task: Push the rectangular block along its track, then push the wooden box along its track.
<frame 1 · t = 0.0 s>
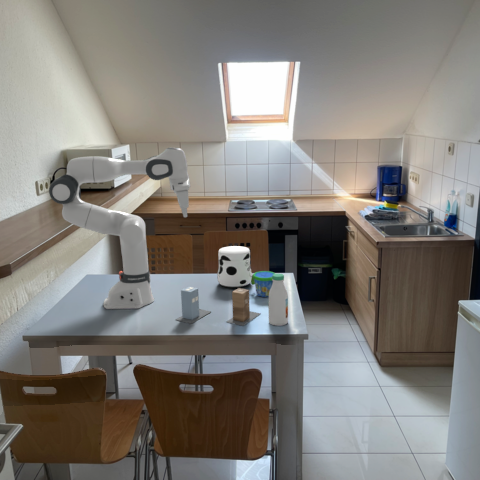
hand: (184, 215, 212), 39 cm above the table, tool pointing down, fingers open, 8 cm apart
track 1: (243, 318, 195), on the table
milk bottle: (278, 322, 190), on the table
milk container: (235, 285, 237), on the table
track 2: (193, 316, 198), on the table
wooden box 1: (241, 304, 192), point 7 cm above the table, slide at 0.0 cm
rectangular block 2: (190, 302, 195), point 7 cm above the table, slide at 0.0 cm
snack cup: (264, 295, 221), on the table
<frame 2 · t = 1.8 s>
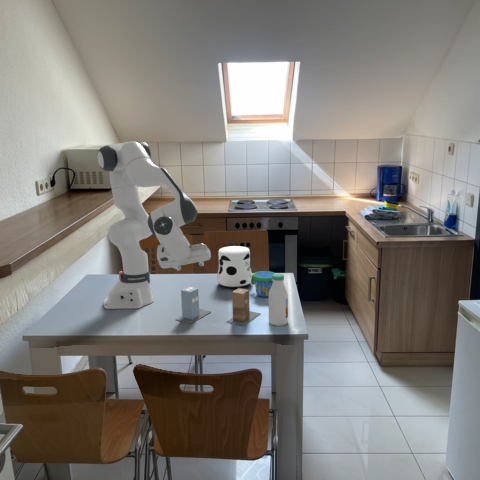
hand: (190, 266, 189), 23 cm above the table, tool tilted 45°, fingers open, 8 cm apart
nothing on the table moved.
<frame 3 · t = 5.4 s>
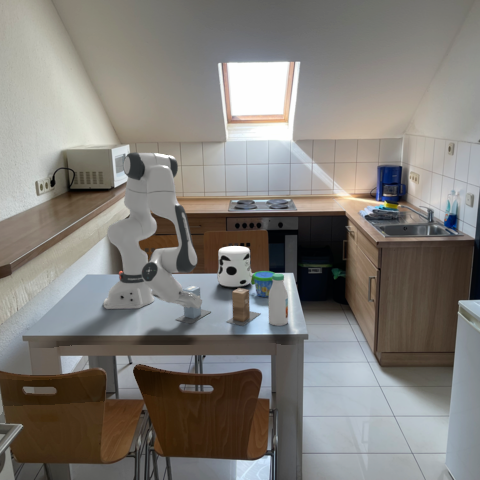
hand: (187, 306, 194), 6 cm above the table, tool tilted 45°, fingers closed, pressing on rectangular block 2
rectangular block 2: (192, 301, 196), point 7 cm above the table, slide at 1.3 cm, touching gripper
everything else where it was.
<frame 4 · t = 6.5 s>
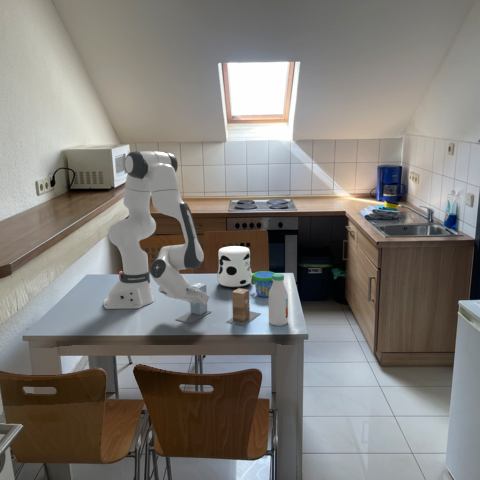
hand: (193, 302, 198), 6 cm above the table, tool tilted 45°, fingers closed, pressing on rectangular block 2
rectangular block 2: (198, 298, 200), point 7 cm above the table, slide at 5.7 cm, touching gripper
everything else where it was.
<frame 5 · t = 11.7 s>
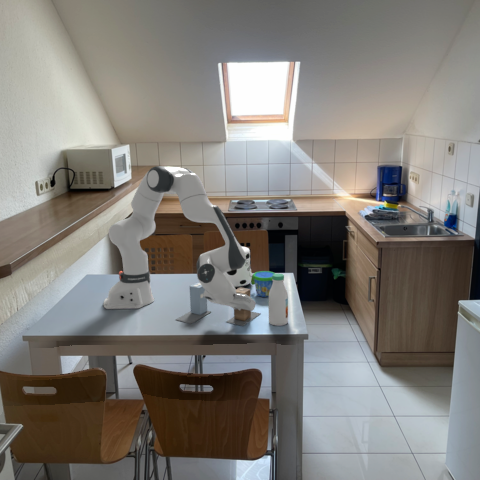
hand: (238, 308, 190), 6 cm above the table, tool tilted 45°, fingers closed, pressing on wooden box 1
wooden box 1: (242, 303, 193), point 7 cm above the table, slide at 1.0 cm, touching gripper
rectangular block 2: (198, 298, 200), point 7 cm above the table, slide at 5.7 cm
everything else where it was.
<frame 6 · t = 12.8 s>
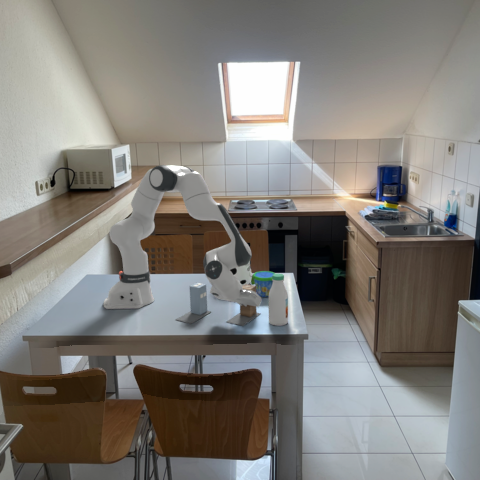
hand: (244, 304, 194), 6 cm above the table, tool tilted 45°, fingers closed, pressing on wooden box 1
wooden box 1: (248, 300, 197), point 7 cm above the table, slide at 5.7 cm, touching gripper
everything else where it was.
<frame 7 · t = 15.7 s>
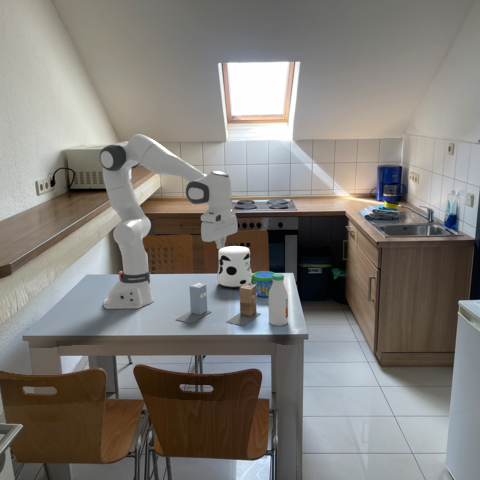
hand: (220, 248, 187), 30 cm above the table, tool pointing down, fingers closed
wooden box 1: (248, 300, 197), point 7 cm above the table, slide at 5.7 cm
everything else where it was.
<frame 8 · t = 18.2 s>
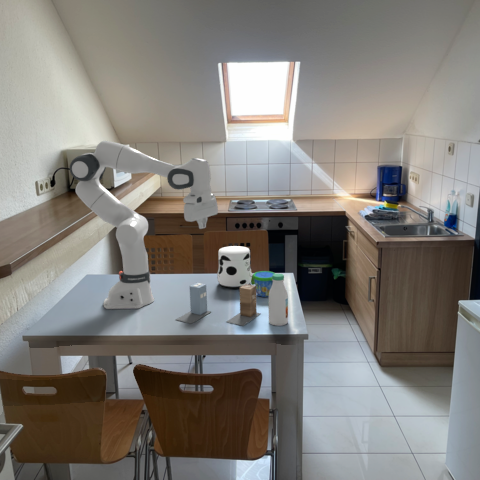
hand: (202, 228, 206), 34 cm above the table, tool pointing down, fingers closed
nothing on the table moved.
at the end: rectangular block 2 slide at 5.7 cm; wooden box 1 slide at 5.7 cm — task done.
